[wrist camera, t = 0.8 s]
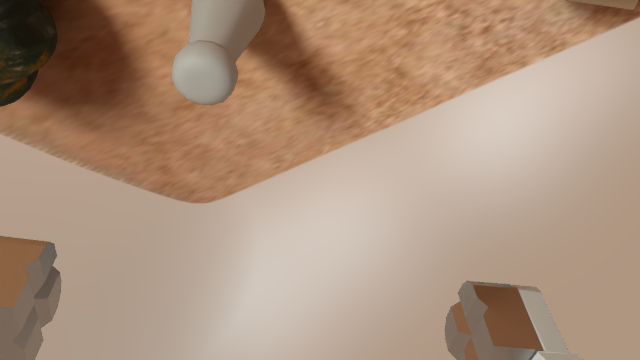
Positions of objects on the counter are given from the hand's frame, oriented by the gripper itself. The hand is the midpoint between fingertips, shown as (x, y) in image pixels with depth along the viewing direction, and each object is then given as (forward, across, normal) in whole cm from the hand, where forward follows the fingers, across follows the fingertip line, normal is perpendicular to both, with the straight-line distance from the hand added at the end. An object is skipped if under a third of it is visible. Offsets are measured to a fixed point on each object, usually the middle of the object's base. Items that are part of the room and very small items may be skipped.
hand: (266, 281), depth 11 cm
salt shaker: (+38, +4, +8) cm, 39 cm away
